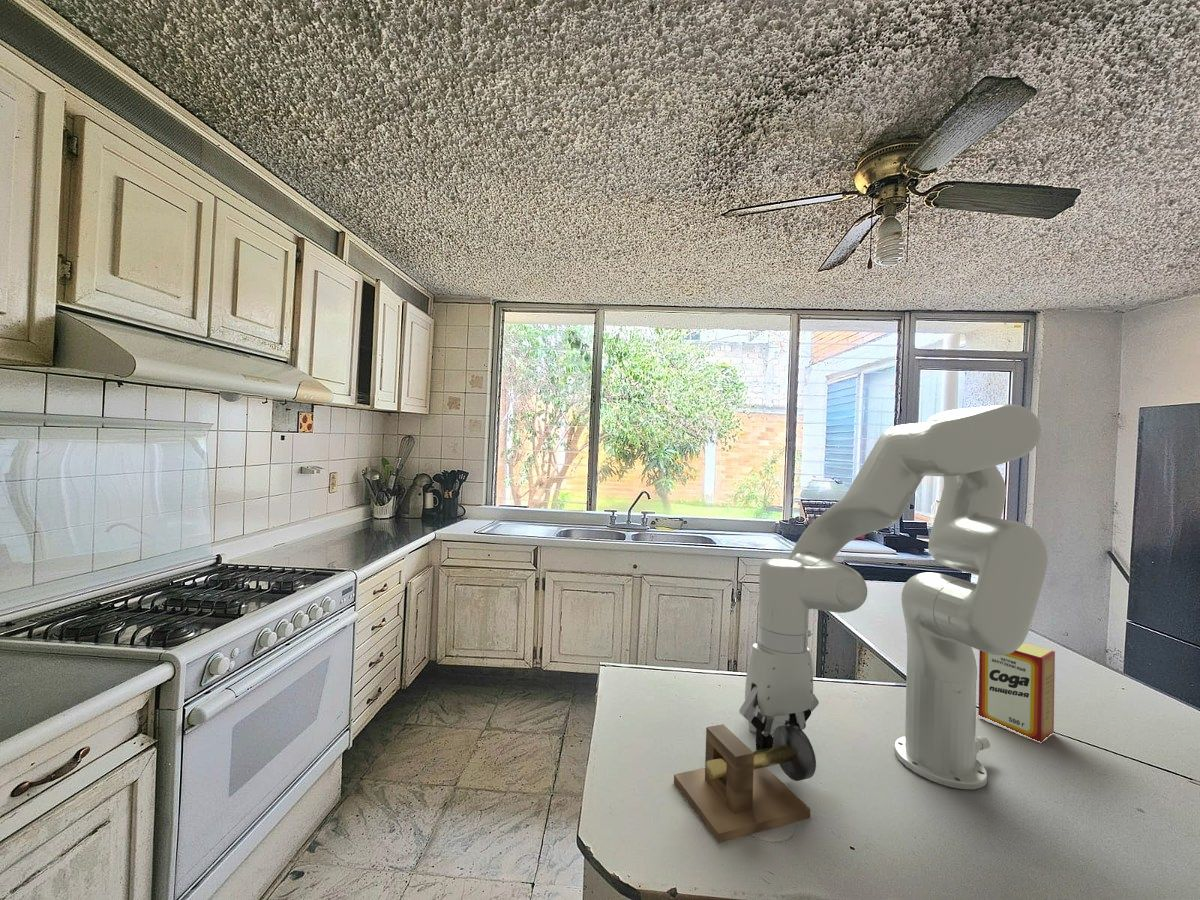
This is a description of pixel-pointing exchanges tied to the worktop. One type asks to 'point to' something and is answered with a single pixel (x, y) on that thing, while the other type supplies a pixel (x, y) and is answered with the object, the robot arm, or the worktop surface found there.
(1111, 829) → the worktop surface
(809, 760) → the brass peg with disc
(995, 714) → the baking soda box
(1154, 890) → the worktop surface
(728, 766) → the eye post
